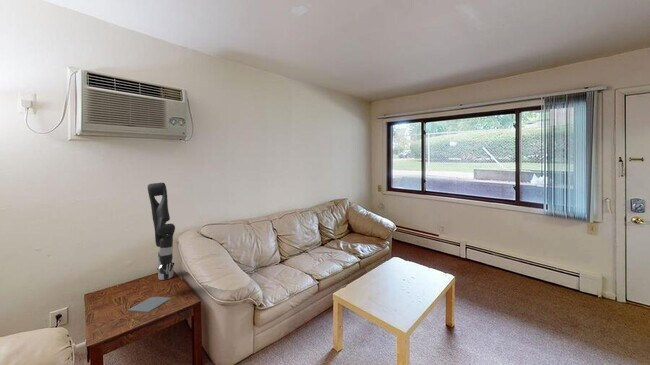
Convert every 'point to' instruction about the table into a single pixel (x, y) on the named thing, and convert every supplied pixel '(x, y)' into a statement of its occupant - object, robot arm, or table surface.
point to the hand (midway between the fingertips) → (166, 279)
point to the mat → (149, 304)
